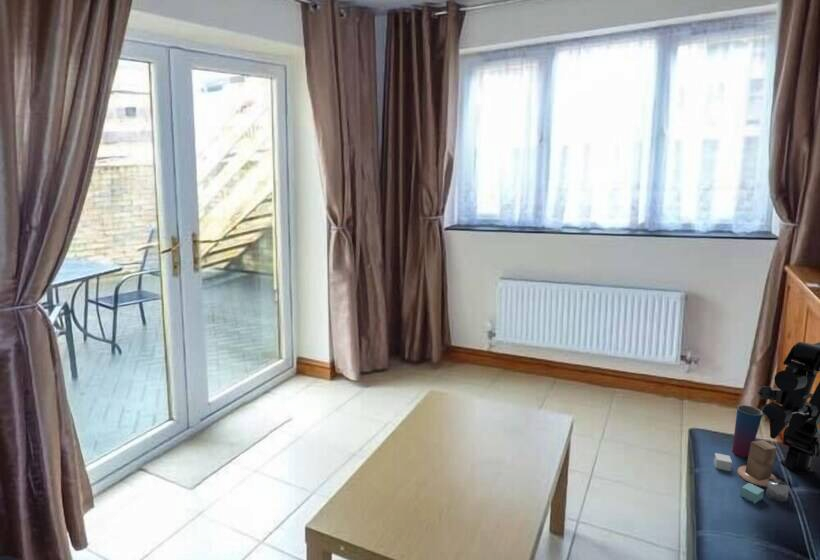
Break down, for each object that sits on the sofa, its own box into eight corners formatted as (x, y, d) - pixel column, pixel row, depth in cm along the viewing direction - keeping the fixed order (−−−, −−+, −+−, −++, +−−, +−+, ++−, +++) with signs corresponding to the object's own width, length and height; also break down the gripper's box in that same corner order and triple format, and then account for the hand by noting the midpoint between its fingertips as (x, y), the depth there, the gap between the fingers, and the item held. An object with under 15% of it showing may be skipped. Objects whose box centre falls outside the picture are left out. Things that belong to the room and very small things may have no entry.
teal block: (747, 492, 158) (749, 482, 157) (762, 499, 155) (764, 489, 154) (740, 496, 156) (741, 487, 155) (755, 504, 152) (757, 494, 152)
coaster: (756, 465, 171) (757, 464, 171) (785, 485, 162) (785, 483, 161) (729, 469, 169) (730, 467, 168) (757, 488, 159) (757, 487, 159)
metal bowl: (772, 489, 159) (774, 476, 158) (790, 499, 155) (793, 486, 154) (761, 494, 157) (764, 481, 156) (780, 503, 153) (783, 490, 152)
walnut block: (756, 469, 168) (762, 439, 165) (770, 478, 163) (776, 447, 161) (745, 472, 166) (751, 441, 164) (758, 480, 162) (765, 449, 160)
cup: (757, 460, 174) (766, 416, 170) (733, 457, 175) (742, 413, 172) (749, 449, 180) (757, 406, 177) (726, 446, 182) (734, 403, 178)
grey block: (713, 461, 173) (715, 452, 172) (727, 464, 171) (729, 455, 171) (715, 468, 169) (717, 459, 168) (730, 471, 168) (732, 462, 167)
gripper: (786, 373, 170) (770, 419, 173) (752, 376, 160) (735, 425, 164) (826, 389, 161) (808, 438, 164) (793, 394, 151) (774, 445, 155)
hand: (780, 436), depth 162 cm, fingers open, 9 cm apart
